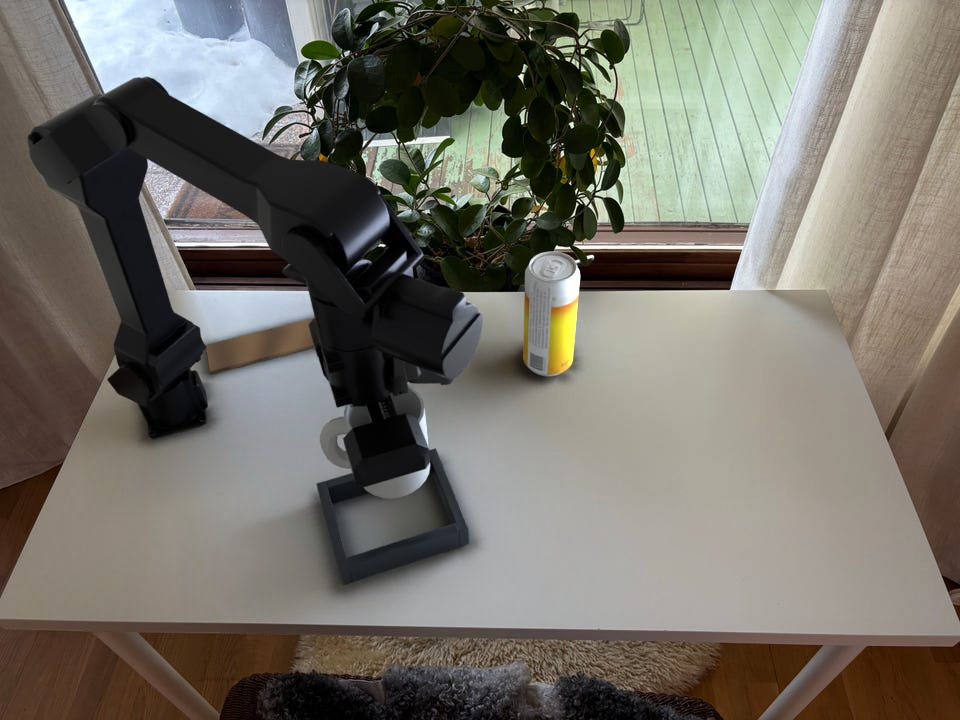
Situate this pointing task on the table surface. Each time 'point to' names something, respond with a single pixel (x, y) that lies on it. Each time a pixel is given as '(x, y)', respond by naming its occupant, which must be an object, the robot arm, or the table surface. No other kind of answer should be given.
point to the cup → (359, 416)
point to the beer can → (550, 312)
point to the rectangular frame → (399, 550)
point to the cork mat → (259, 346)
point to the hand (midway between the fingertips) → (376, 448)
